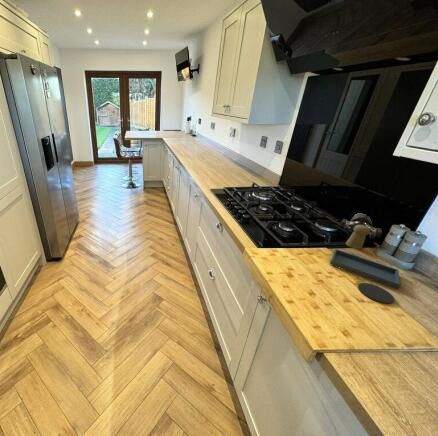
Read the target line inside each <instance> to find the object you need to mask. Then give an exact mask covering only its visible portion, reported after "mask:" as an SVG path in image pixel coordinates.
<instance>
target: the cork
mask: <svg viewBox="0 0 438 436" xmlns="http://www.w3.org/2000/svg"><path fill="white" fill-rule="evenodd" d="M369 233H370V228H368V227H367V226H364V225H356V226H355V227H354V230H353V232H352V233H351V234H350V236H349V237H348V239H347V241H346V242H345V245H346V246H348V247H350V248H352V249H354V250H363V247H364V244H365V240H366V236H369V235H368V234H369Z"/></svg>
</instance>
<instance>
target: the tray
mask: <svg viewBox="0 0 438 436" xmlns="http://www.w3.org/2000/svg"><path fill="white" fill-rule="evenodd" d="M330 264H332V265H331V266H333V265H334V266H333V267H335V266H337V267H336V268H338V267H340V268H339V269H341V268H343V269H342V270H344V269H345V270H344V271H346V270H348V271H347V272H349V271H350V272H349V273H352V272H353V273H352V274H354V273H355V274H354V275H358V276H360V277H363V278H365V279H369V280H371V281H374V282H376V283H379V284H381V285H385V286H387V287H391V288H393V289H395V290H398V288H399V287H400V285H401V283H400V282H401V281H400V273H399V269H398V268H395V267H392V266H388V265H385V264H383V263H380V262H376V261H373V260H371V259H367V258H364V257H361V256H359V255H355V254H353V253H349V252H346V251H343V250H340V249H338V248H335V249H334V251H333V253H332V255H331V259H330V262H329V265H330Z"/></svg>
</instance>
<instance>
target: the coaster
mask: <svg viewBox="0 0 438 436" xmlns="http://www.w3.org/2000/svg"><path fill="white" fill-rule="evenodd" d="M357 289H358V291H359V292H360V293H361V294H362V295H363V296H365V297H366V298H368V299H370V300H372V301H374V302H376V303H379V304H383V305H392V304H393V303H394V302H395V297H394V296H393V295H392V294H391V293H390V292H389V291H387V290H386V289H385V288H382V287H380V286H378V285H376V284H374V283H370V282H360V283H359V284H358V285H357Z"/></svg>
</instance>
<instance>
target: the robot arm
mask: <svg viewBox="0 0 438 436" xmlns="http://www.w3.org/2000/svg"><path fill="white" fill-rule="evenodd" d="M356 225H364V226H367V227H368V228H370V233H369V234H368V235H367V236H369V239H370V240H372V239H375V238H380V237H381V235H382V234H383V231H382V228H381V227H377V228H375V227H373V220H372V221H371V219H370V217H369V216H367V215H366V214H363V213H357V214H355V215H354V216H353V217H352V216H351V218H350V221H349V220H347V219H346V218H343V219H342V221H341V222H340V224H339V227H340V228H343V230H344V231H345V232H348V231H349V230H351V231H352V230H353V231H354V227H355V226H356Z"/></svg>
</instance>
